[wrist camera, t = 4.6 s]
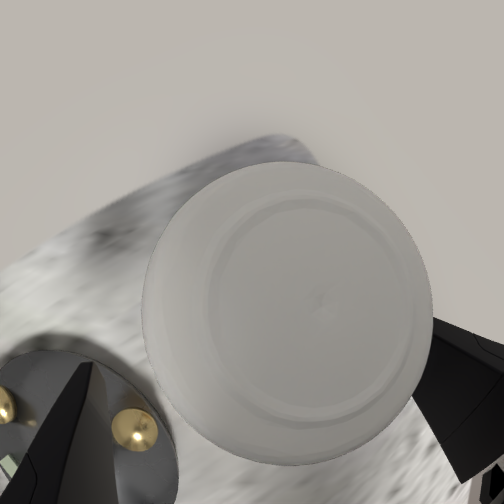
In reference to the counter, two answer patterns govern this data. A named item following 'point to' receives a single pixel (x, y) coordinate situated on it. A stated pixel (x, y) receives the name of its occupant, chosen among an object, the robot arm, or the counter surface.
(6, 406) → the tribrach plate
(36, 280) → the counter surface
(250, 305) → the sprinkles bottle
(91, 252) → the counter surface
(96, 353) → the counter surface
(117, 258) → the counter surface
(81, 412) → the robot arm
